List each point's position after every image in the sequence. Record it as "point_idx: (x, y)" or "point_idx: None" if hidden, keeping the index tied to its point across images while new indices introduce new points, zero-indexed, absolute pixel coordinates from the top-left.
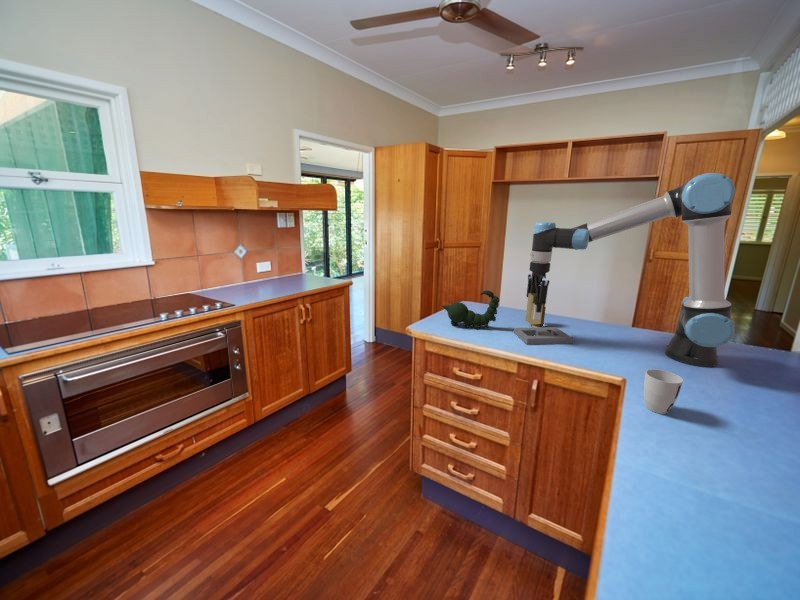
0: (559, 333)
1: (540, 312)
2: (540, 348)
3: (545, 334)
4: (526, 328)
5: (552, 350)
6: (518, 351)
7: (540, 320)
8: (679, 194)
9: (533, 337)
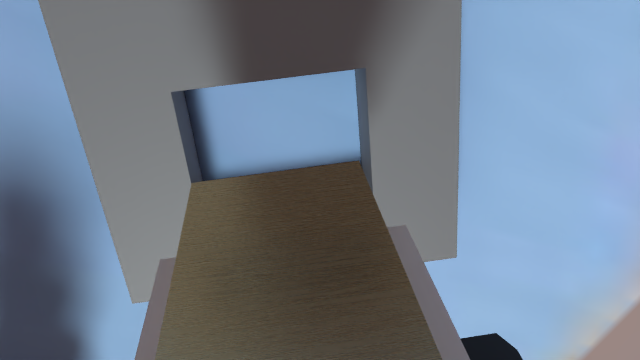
0: None
1: (442, 311)
2: (535, 136)
3: (330, 24)
4: (125, 185)
5: (598, 40)
6: (565, 313)
7: (369, 193)
8: None
9: (427, 194)
